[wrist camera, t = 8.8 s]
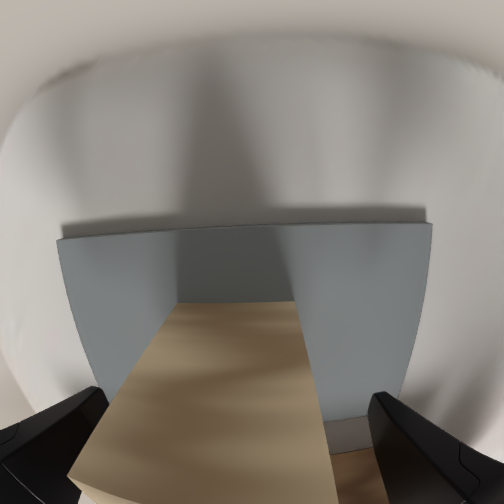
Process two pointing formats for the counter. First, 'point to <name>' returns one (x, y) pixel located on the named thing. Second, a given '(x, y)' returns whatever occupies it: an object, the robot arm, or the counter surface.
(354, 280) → the slate mat
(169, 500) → the maple block
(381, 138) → the counter surface
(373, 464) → the walnut crate
